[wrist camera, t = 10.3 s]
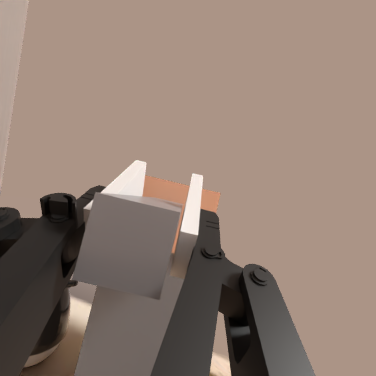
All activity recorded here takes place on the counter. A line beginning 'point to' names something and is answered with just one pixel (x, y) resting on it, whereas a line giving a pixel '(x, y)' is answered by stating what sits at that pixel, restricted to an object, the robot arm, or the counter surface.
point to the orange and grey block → (135, 237)
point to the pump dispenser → (53, 329)
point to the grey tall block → (126, 330)
